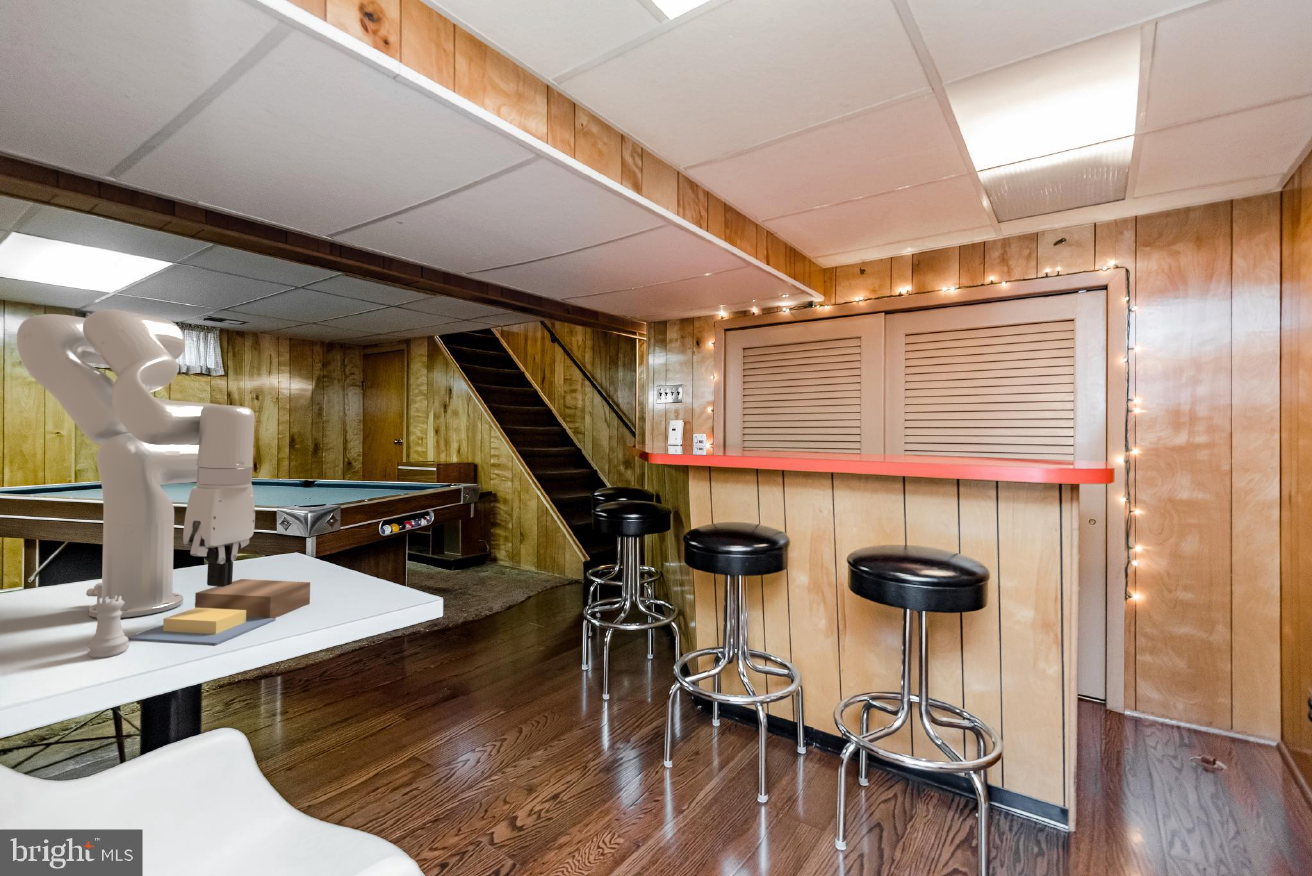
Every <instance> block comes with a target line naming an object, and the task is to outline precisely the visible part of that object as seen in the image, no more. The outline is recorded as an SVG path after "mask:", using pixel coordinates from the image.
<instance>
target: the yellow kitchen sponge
mask: <svg viewBox="0 0 1312 876" xmlns="http://www.w3.org/2000/svg"><path fill="white" fill-rule="evenodd" d="M245 622H246V610H233V609H214V608H195V607H193V608H191V609H189V610H186V611H182V612H179V613H176V614H173V615H170V616H167V617H164V618H163V624H162V625H163V631H171V632H189V633H207V634H217V633H220V632H222V631H225V630H227V629H230V628H232V627H235V626H237V625H240V624H242V623H245Z"/></svg>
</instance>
